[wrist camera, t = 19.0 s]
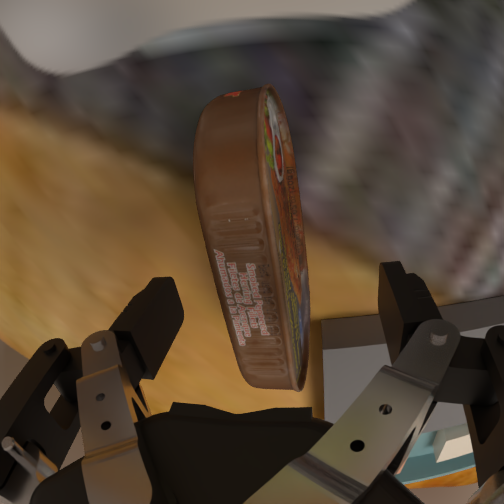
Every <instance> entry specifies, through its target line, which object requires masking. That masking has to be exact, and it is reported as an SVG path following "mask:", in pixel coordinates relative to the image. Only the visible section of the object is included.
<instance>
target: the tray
mask: <svg viewBox="0 0 504 504" xmlns="http://www.w3.org/2000/svg"><path fill="white" fill-rule="evenodd" d="M437 431H438V430H436V431H432V432H427V433H422V434H420V436H419V438H418V439H417V441H416V443H415V444H414V446H413V448H412V450H411V452H410V454H409V456H408V458H407V460H406V462H405V464H404V466H403V468H402V470H401V472H400V473H399V474H396V475H395V477H396V478H397V479H398V480H399V481H400V482H401V483H402V484H408V483H413V482H418V481H423V480H427V479H432V478H436V477H440V476H444V475H448V474H452V473H455V472H459V471H462V470H466V469H469V468H472V467H475V460H474V454H473V452H471V453H468V454H465V455H462V456H459V457H455V458H452V459H449V460H445V461H441V462H438V463H436V459H435V455H434V450H433V445H432V444H433V442H434V439H435V437H436V434H437Z"/></svg>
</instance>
